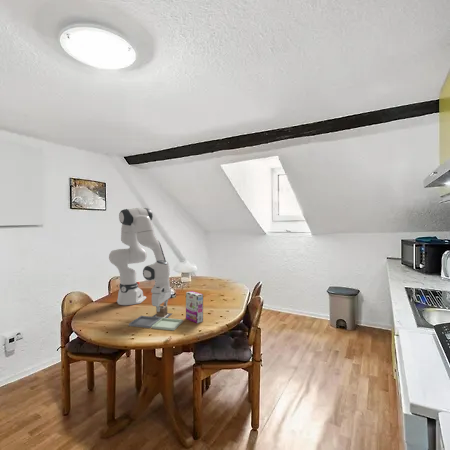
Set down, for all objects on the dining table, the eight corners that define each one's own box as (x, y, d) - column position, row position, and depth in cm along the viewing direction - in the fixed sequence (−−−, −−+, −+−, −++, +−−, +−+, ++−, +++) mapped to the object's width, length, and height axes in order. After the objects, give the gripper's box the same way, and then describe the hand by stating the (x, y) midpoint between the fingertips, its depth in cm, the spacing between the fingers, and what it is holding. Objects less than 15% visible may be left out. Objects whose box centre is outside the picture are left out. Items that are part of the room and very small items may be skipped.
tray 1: (141, 318, 167) (141, 315, 167) (161, 320, 164) (161, 317, 164) (128, 326, 155) (128, 323, 154) (150, 328, 151) (150, 325, 151)
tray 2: (162, 320, 164) (162, 317, 164) (183, 322, 161) (183, 319, 161) (151, 328, 151) (151, 325, 151) (173, 331, 148) (173, 328, 148)
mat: (158, 312, 177) (158, 312, 177) (172, 314, 175) (172, 313, 175) (150, 318, 167) (150, 317, 167) (165, 319, 165) (165, 318, 165)
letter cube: (160, 313, 174) (160, 305, 174) (167, 314, 173) (167, 306, 173) (156, 316, 169) (156, 308, 169) (163, 317, 168) (163, 308, 168)
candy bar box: (203, 321, 162) (203, 294, 162) (197, 324, 158) (197, 295, 158) (192, 317, 170) (192, 290, 170) (185, 319, 166) (185, 292, 166)
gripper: (164, 282, 182) (164, 303, 183) (149, 290, 162) (149, 313, 163) (173, 283, 181) (173, 304, 181) (159, 291, 161) (159, 314, 161)
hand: (162, 308), depth 172 cm, fingers open, 8 cm apart
